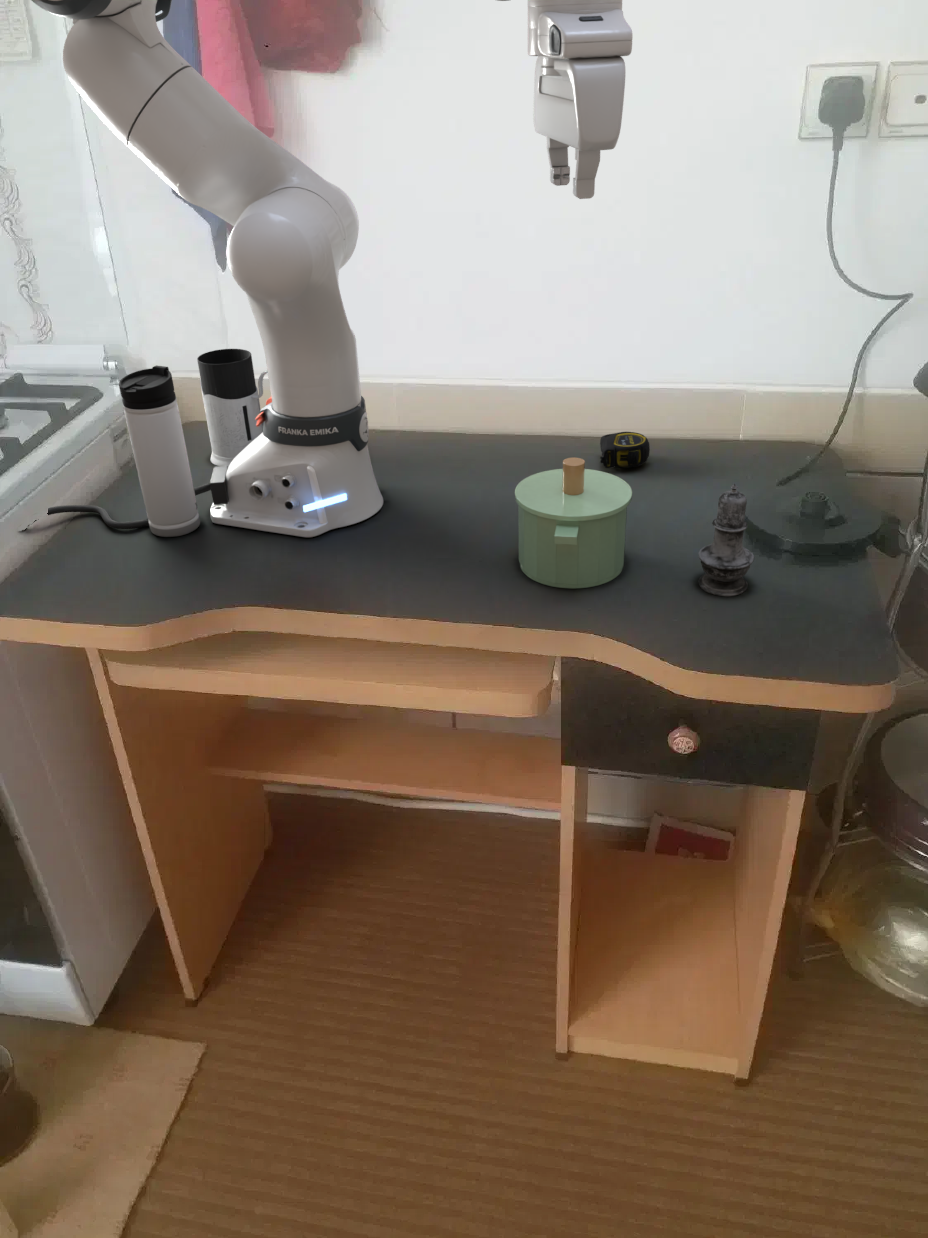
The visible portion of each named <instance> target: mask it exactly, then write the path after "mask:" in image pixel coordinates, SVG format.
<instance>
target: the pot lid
mask: <svg viewBox="0 0 928 1238" xmlns="http://www.w3.org/2000/svg"><path fill="white" fill-rule="evenodd" d="M585 466H586V461H585V459H583V458H582V457H581V458H580V457H574V456H573V457H567V458H565V459H563V460H562V468H555V469H548V470H545V471H540V472H537V473H534V474H531V475H529V476H527V477H525V478H523V479H522V480H521V481H520V482H518V484H516V487H515V488H514V501H515V502H516V504H517V506H518V505H519V506H520V507H521V508H523V509H524V510H526V511H527V512H529V513H532V514H534V515H537V516H540V517H544V518H548V519H554V520H562V521H586V520H594V519H600V518H605V517H608V516H611V515H614V514H616V513H618V512H620V511H622V510H624V509H625V508H626V507H627V508H628V506H630V504H631V502H632V499H633V490H632V487H631V485H630V484H629V483H628V482H627V481H625V480H624V479H623V478H621V477H619V476H617V475H614V474H612V473H610V472H609V473H608V472H606V471H601V470H597V469H590V468H586V467H585Z"/></svg>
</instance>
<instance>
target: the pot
mask: <svg viewBox="0 0 928 1238" xmlns="http://www.w3.org/2000/svg"><path fill="white" fill-rule="evenodd" d="M517 506H518V509H517V510H518V511H517V512H518V514H517V515H518V516H517V517H518V521H517V522H518V562H519V567H520V570H521V571H522V573H523V574H524V576H526V577H528V578H529V579H531V580H532V581H535V582H536V583H539V584H542V585H544V586H548V587H553V588H560V589H586V588H593V587H597V586H601V585H603V584H606V583H609V582H611V581H612V580H615V579H616V578H617V577H618V576H619V575H620V574H621V573H622V571H623V569H624V565H625V552H626V551H625V550H626V536H627V535H626V533H627V516H628V515H627V514H628V512H627V511H628V506H627V507H626V508H625V509H624V510H622V511H620V512H618V513H616V514H614V515H611V516H608V517H605V518H600V519H594V520H586V521H562V520H554V519H548V518H544V517H540V516H537V515H534V514H532V513H529V512H527V511H526V510H524V509H523V508H521V507H520V506H519V505H518V504H517Z"/></svg>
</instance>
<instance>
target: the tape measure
mask: <svg viewBox="0 0 928 1238" xmlns="http://www.w3.org/2000/svg"><path fill="white" fill-rule="evenodd" d="M599 440H600V441H599V442H600V443H599V446H600V452H601V456H599V458H600V462H599V463H600V464H602V465H603V467H605V468H606V469H609V468H611V469H612V468H615V467H617V468H623V469H629V468H637V467H639V466H643V464H645V463H646V462H647V461H648V460H649V459H648V458H649V457H650V451H651V450H650V442H649V440H648V438H647V437H646V436H645V435H644V434H642V433H639V432H635V431H621V432H620V431H619V432H614V433H609V434H605V435H602V436H601V437H600V439H599Z"/></svg>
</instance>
